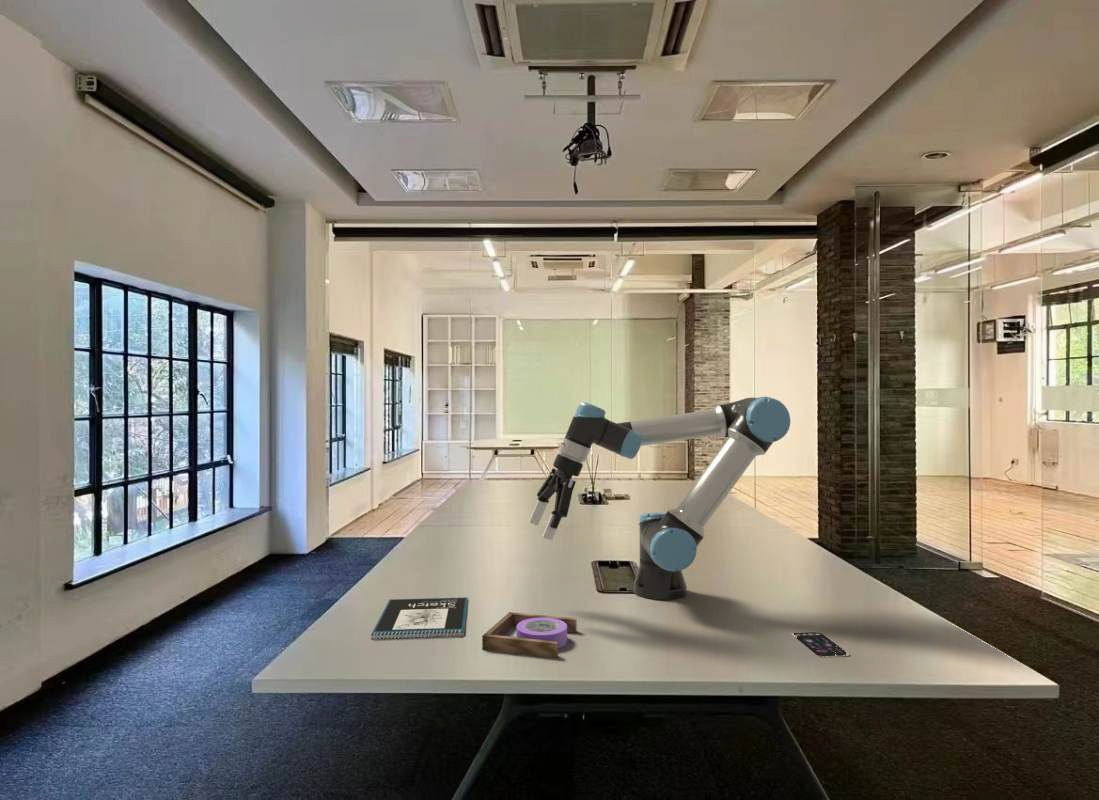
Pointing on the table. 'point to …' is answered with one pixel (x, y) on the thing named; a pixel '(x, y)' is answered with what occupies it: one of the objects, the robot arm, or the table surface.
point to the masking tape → (543, 630)
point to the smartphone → (819, 644)
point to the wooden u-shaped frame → (522, 645)
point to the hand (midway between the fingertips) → (539, 531)
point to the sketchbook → (422, 618)
